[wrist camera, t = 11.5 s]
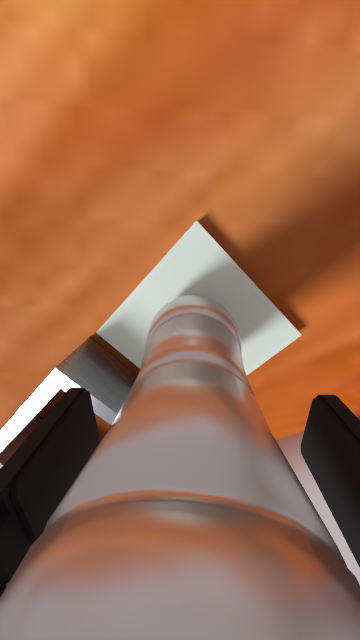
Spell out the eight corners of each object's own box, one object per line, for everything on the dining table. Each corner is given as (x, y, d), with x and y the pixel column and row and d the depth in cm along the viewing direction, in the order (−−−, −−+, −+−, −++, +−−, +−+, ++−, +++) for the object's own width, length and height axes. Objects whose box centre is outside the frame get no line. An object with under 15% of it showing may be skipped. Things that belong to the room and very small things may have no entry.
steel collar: (90, 336, 19) (55, 368, 14) (187, 415, 21) (185, 464, 16) (20, 414, 23) (-25, 459, 18) (109, 473, 25) (90, 525, 20)
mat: (196, 221, 15) (196, 220, 14) (297, 330, 17) (301, 334, 16) (100, 329, 18) (96, 332, 18) (194, 407, 21) (194, 413, 20)
